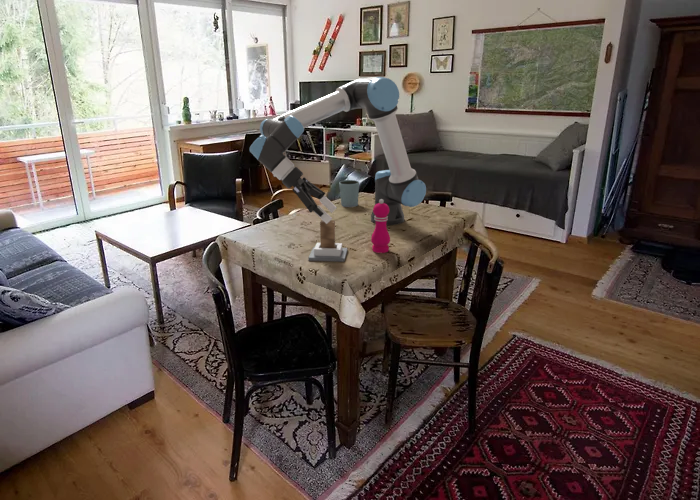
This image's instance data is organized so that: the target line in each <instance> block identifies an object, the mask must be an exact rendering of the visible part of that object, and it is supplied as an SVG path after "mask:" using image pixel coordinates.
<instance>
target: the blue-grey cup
mask: <svg viewBox="0 0 700 500" xmlns="http://www.w3.org/2000/svg"><path fill="white" fill-rule="evenodd" d="M338 185H339V192H340V202H341V203H340V204H341V206H342V207H344V208H355V207H358V206H359V195H360V194H359V193H360V192H359V189H360V181H359V180H355V179H354V180H353V179H345V180H341V181H339V183H338Z"/></svg>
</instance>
